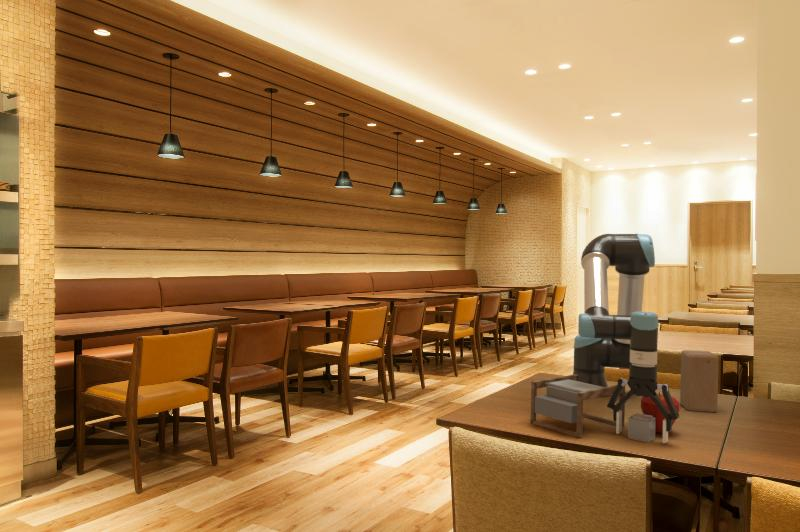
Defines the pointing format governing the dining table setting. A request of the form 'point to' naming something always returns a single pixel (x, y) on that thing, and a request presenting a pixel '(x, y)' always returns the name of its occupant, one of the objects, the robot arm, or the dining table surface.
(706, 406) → the wooden block
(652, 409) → the apple
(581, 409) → the wooden rack
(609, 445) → the dining table surface
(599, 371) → the robot arm
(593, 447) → the dining table surface
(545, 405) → the grey angular block
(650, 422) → the stone
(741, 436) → the dining table surface
